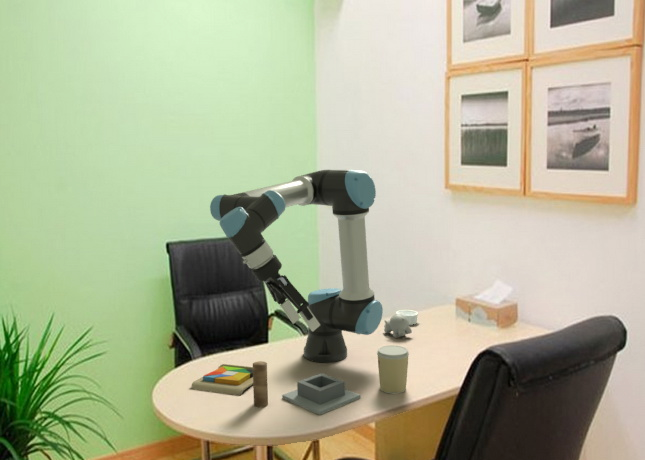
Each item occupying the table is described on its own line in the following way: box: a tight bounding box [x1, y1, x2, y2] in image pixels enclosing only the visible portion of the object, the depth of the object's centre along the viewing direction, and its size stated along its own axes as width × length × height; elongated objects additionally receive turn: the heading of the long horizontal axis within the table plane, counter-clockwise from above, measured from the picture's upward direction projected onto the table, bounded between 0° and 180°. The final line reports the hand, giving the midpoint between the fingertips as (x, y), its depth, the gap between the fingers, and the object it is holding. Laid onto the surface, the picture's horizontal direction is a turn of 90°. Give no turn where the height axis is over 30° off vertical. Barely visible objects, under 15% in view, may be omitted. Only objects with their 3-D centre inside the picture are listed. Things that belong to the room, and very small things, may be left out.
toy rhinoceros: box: [383, 313, 412, 339], centre depth 240 cm, size 7×12×8 cm, turn 37°
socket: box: [281, 372, 361, 416], centre depth 183 cm, size 16×16×5 cm
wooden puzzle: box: [191, 363, 253, 396], centre depth 197 cm, size 18×19×4 cm
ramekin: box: [395, 309, 419, 326], centre depth 256 cm, size 9×9×4 cm
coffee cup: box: [376, 344, 410, 395], centre depth 188 cm, size 9×9×12 cm
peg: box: [252, 360, 269, 408], centre depth 179 cm, size 4×4×12 cm
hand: (306, 324), depth 171 cm, fingers open, 13 cm apart
